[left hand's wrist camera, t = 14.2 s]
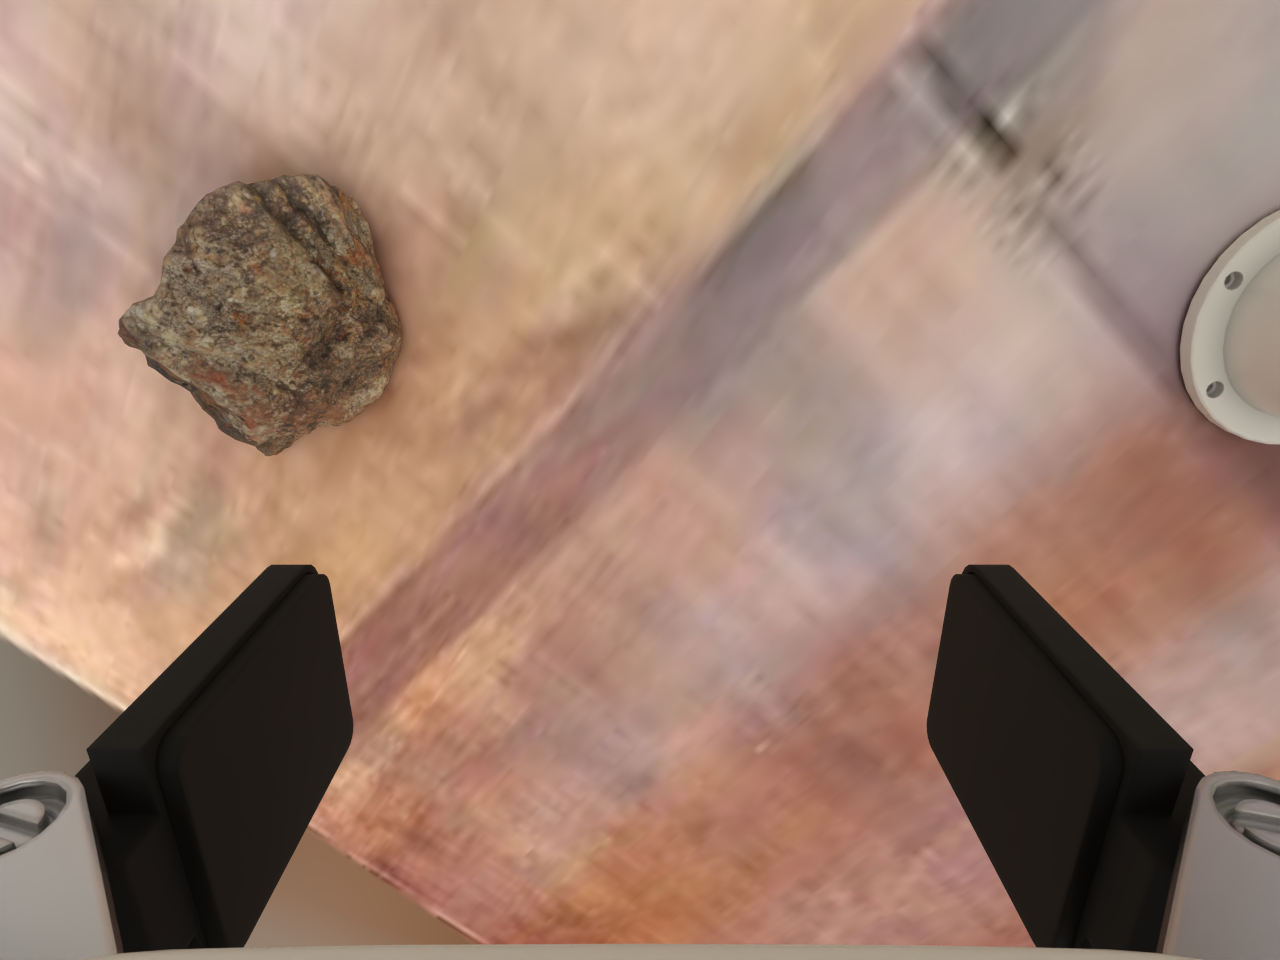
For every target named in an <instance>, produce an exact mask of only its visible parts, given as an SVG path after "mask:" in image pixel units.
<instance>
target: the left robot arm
mask: <svg viewBox="0 0 1280 960" xmlns="http://www.w3.org/2000/svg"><path fill="white" fill-rule="evenodd" d="M1180 363H1181V372H1182V376H1183V379H1184V383H1185V387H1186V390H1187V392H1188V394H1189V395H1190V397H1191V399H1192V401H1193V402H1194V404H1195V406H1196V407H1197V408H1198V409H1199V411H1200V412H1201V413H1202V414H1203V415H1204V416H1205V417H1206V418H1207V419H1208V420H1209V421H1210V422H1212V423H1214V424H1215V425H1217V426H1218V427H1220V428H1222V429H1223V430H1225V431H1227V432H1229V433H1232V434H1234V435H1237V436H1239V437H1242V438H1244V439H1247V440H1251V441H1255V442H1259V443H1264V444H1279V445H1280V210H1278V211H1276V212H1274V213H1273V214H1271V215H1269V216H1267V217H1265V218H1263V219H1262V220H1261V221H1259V222H1258V223H1257V224H1255V225H1254V226H1253V227H1251V228H1250V229H1249V230H1247V231H1246V232H1245V233H1243V234H1242V235H1241V236H1240V237H1239V238H1238V239H1237V240H1236V241H1235V242H1234V243H1233V244H1232V245H1231V246H1230V247H1229V248H1228V249H1227V250H1226V251H1225V252H1224V253H1223V254H1222V255H1221V256H1220V257H1219V258H1218V260H1217V261H1216V262H1215V264H1214V265H1213V266H1212V268H1211V269H1210V270H1209V272H1208V273H1207V274H1206V276H1205V277H1204V279H1203V280H1202V282H1201V284H1200V286H1199V288H1198V290H1197V292H1196V294H1195V295H1194V297H1193V299H1192V301H1191V304H1190V307H1189V310H1188V313H1187V316H1186V318H1185V321H1184V324H1183V330H1182V337H1181V343H1180ZM352 734H353V718H352V712H351V706H350V700H349V694H348V688H347V682H346V676H345V670H344V664H343V658H342V652H341V647H340V641H339V635H338V629H337V623H336V617H335V611H334V605H333V599H332V593H331V587H330V583H329V579H328V578H327V576H326V575H324V574H318V572H317V571H316V569H315V567H313V566H312V565H270V566H269V567H267V568H266V569H265V570H264V571H263V572H262V573H261V574H260V575H259V576H258V577H257V578H256V579H255V580H254V581H253V582H252V583H251V584H250V585H249V586H248V587H247V588H246V589H245V590H244V591H243V592H242V593H241V594H240V595H239V597H238V598H237V599H236V600H235V601H234V602H233V603H232V604H231V605H230V606H229V607H228V608H227V609H226V610H225V611H224V612H223V613H222V614H221V615H220V616H219V617H218V618H217V619H216V620H215V621H214V622H213V623H212V624H211V625H210V626H209V627H208V628H207V629H206V630H205V631H204V632H203V633H202V634H201V635H200V636H199V637H198V638H197V639H196V640H195V641H194V642H193V643H192V644H191V645H190V646H189V647H188V648H187V649H186V650H185V651H184V652H183V653H182V654H181V655H180V656H179V657H178V658H177V659H176V660H175V661H174V662H173V663H172V664H171V665H170V666H169V667H168V668H167V669H166V670H165V671H164V672H163V673H162V674H161V675H160V676H159V677H158V678H157V679H156V680H155V681H154V682H153V683H152V684H151V685H150V686H149V687H148V688H147V689H146V690H145V691H144V692H143V693H142V694H141V695H140V696H139V697H138V698H137V699H136V700H135V701H134V702H133V703H132V704H131V705H130V706H129V707H128V708H127V709H126V710H125V711H124V712H123V713H122V714H121V715H120V716H119V717H118V718H117V719H116V720H115V721H114V722H113V723H112V724H111V725H110V726H109V727H108V728H107V729H106V730H105V731H104V732H103V733H102V734H101V735H100V736H99V737H98V738H97V739H96V740H95V741H94V742H93V743H92V744H91V745H90V746H89V747H88V748H87V752H88V755H89V758H90V761H89V762H88V763H87V764H86V765H85V766H84V767H83V768H82V769H81V770H80V771H79V772H78V773H77V774H76V775H75V776H73V775H70V774H68V773H66V772H55V771H42V772H35V773H28V774H23V775H19V776H16V777H12V778H9V779H6V780H2V781H0V960H1280V781H1278V780H1274V779H1271V778H1268V777H1264V776H1261V775H1258V774H1252V773H1245V772H1238V771H1224V772H1214V773H1212V774H1210V775H1207V776H1205V775H1204V774H1203V773H1202V772H1201V771H1200V770H1199V769H1198V768H1197V767H1196V766H1195V765H1194V764H1193V763H1192V762H1191V761H1190V759H1191V755H1192V752H1193V748H1192V747H1191V746H1190V745H1189V744H1188V743H1187V742H1186V741H1185V740H1184V739H1183V738H1182V737H1181V736H1180V735H1179V734H1178V733H1177V732H1176V731H1175V730H1174V729H1173V728H1172V727H1171V726H1170V725H1169V724H1168V723H1167V722H1166V721H1165V720H1164V719H1163V718H1162V717H1161V716H1160V715H1159V714H1158V713H1157V712H1156V711H1155V710H1154V709H1153V708H1152V707H1151V706H1150V705H1149V704H1148V703H1147V702H1146V701H1145V700H1144V699H1143V698H1142V697H1141V696H1140V695H1139V694H1138V693H1137V692H1136V691H1135V690H1134V689H1133V688H1132V687H1131V686H1130V685H1129V684H1128V683H1127V682H1126V681H1125V680H1124V679H1123V678H1122V677H1121V676H1120V675H1119V674H1118V673H1117V672H1116V671H1115V670H1114V669H1113V668H1112V667H1111V666H1110V665H1109V664H1108V663H1107V662H1106V661H1105V660H1104V659H1103V658H1102V657H1101V656H1100V655H1099V654H1098V653H1097V652H1096V651H1095V650H1094V649H1093V648H1092V647H1091V646H1090V645H1089V644H1088V643H1087V642H1086V641H1085V640H1084V639H1083V638H1082V637H1081V636H1080V635H1079V634H1078V633H1077V632H1076V631H1075V630H1074V629H1073V628H1072V627H1071V626H1070V625H1069V624H1068V623H1067V622H1066V621H1065V620H1064V619H1063V618H1062V617H1061V616H1060V615H1059V614H1058V613H1057V612H1056V611H1055V610H1054V609H1053V608H1052V607H1051V606H1050V605H1049V604H1048V603H1047V602H1046V601H1045V600H1044V599H1043V598H1042V596H1041V595H1040V594H1039V593H1038V592H1037V591H1036V590H1035V589H1034V588H1033V587H1032V586H1031V585H1030V584H1029V583H1028V582H1027V581H1026V580H1025V579H1024V578H1023V577H1022V576H1021V575H1020V574H1019V573H1018V572H1017V571H1016V570H1015V569H1014V568H1013V567H1011V566H1010V565H968V566H967V567H965V569H964V571H963V572H962V574H956V575H954V576H953V578H952V579H951V583H950V587H949V593H948V599H947V605H946V611H945V617H944V623H943V629H942V635H941V641H940V647H939V652H938V658H937V664H936V670H935V676H934V682H933V688H932V694H931V700H930V706H929V712H928V718H927V734H928V739H929V743H930V746H931V748H932V750H933V752H934V754H935V756H936V758H937V759H938V761H939V763H940V765H941V767H942V769H943V771H944V773H945V775H946V777H947V779H948V780H949V782H950V784H951V786H952V788H953V790H954V792H955V794H956V796H957V798H958V799H959V801H960V803H961V805H962V807H963V809H964V811H965V813H966V815H967V817H968V819H969V820H970V822H971V824H972V826H973V828H974V830H975V832H976V834H977V836H978V838H979V840H980V841H981V843H982V845H983V847H984V849H985V851H986V853H987V855H988V857H989V859H990V860H991V862H992V864H993V866H994V868H995V870H996V872H997V874H998V876H999V878H1000V880H1001V881H1002V883H1003V885H1004V887H1005V889H1006V891H1007V893H1008V895H1009V897H1010V899H1011V900H1012V902H1013V904H1014V906H1015V908H1016V910H1017V912H1018V914H1019V916H1020V918H1021V920H1022V921H1023V923H1024V925H1025V927H1026V929H1027V931H1028V933H1029V935H1030V937H1031V939H1032V940H1033V942H1034V944H1035V945H1036V947H989V946H918V945H771V944H508V945H364V946H363V945H362V946H291V947H244V945H245V944H246V942H247V940H248V939H249V937H250V935H251V933H252V931H253V929H254V927H255V925H256V923H257V921H258V919H259V918H260V916H261V914H262V912H263V910H264V908H265V906H266V904H267V902H268V900H269V899H270V897H271V895H272V893H273V891H274V889H275V887H276V885H277V883H278V881H279V880H280V878H281V876H282V874H283V872H284V870H285V868H286V866H287V864H288V862H289V860H290V859H291V857H292V855H293V853H294V851H295V849H296V847H297V845H298V843H299V841H300V840H301V838H302V836H303V834H304V832H305V830H306V828H307V826H308V824H309V822H310V820H311V819H312V817H313V815H314V813H315V811H316V809H317V807H318V805H319V803H320V801H321V799H322V798H323V796H324V794H325V792H326V790H327V788H328V786H329V784H330V782H331V780H332V779H333V777H334V775H335V773H336V771H337V769H338V767H339V765H340V763H341V761H342V759H343V758H344V756H345V754H346V752H347V750H348V748H349V746H350V743H351V739H352Z"/></svg>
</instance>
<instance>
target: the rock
mask: <svg viewBox="0 0 1280 960" xmlns="http://www.w3.org/2000/svg"><path fill="white" fill-rule="evenodd" d="M119 328H120V329H119V331H118V335H119V336H120V337H121V338H122V339H123V341H124V343H125V344H127V345H128V346H130V347H133V348H137V349H139V350H141V351H142V352H143V353H144V354H145V356H146V359H147V364H148V366H150V367H151V368H153V369H155V370H156V371H158V372H159V373H160V374H162V375H163V376H164V377H165V378H167V379H168V380H170V381H171V382H174V383H176V384H179V385H181V386H182V387H184V388H185V389H187V390H189V391H190V392H191V394H192V395H193V397H194V398H195V400H196V401H197V402H198V403H199V405H200V406H201V408H202V409H203V410H204V411H205V412H207V413H208V414H209V415H210V416H211V417H212V418H213V419H214V420H215V421H216V424H217V426H218V428H219V429H220V430H221V431H222V432H224V433H226V434H227V435H229V436H231V437H232V438H234V439H236V440H238V441H241V442H244V443H247V444H250V445H253V446H255V447H256V448H257V449H258V450H260V451H261V452H262V453H263V454H264V455H265V456H271V455H277V454H279V453H280V452H282V451H283V449H285V448H288V447H290V446H291V445H292V444H293V442H294V441H296V440H297V439H299V438H300V437H301V436H302V435H303V434H309V433H310V432H311V431H312V430H313V429H316V428H317V427H319V426H321V427H327V426H329V425H333V426H340V425H341V424H342V423H345V422H349V421H351V420H353V419H354V418H355V417H356V416H357V415H359V414H360V413H362V412H363V411H364V409H365V408H366V407H367V406H368V405H370V404H371V403H373V402H374V401H376V400H377V399H378V398H379V397H380V395H381V394H383V393H384V388H385V386H386V385H387V384H388V383H389V379H390V375H391V372H392V370H393V366H392V365H393V364H394V362H395V360H396V359H397V358H398V356H399V353H400V345H401V344H402V338H401V323H400V322H399V320H398V315H397V311H396V309H395V307H394V305H393V304H392V302H391V300H389V298H388V296H387V293H386V291H385V288H384V280H383V277H382V275H381V270H380V267H379V265H378V262H377V260H376V257H375V254H374V248H373V240H372V237H371V232H370V227H369V225H368V223H367V221H366V220H365V219H364V217H363V216H362V213H361V211H360V209H359V206H358V204H357V203H356V202H355V201H354V199H352V198H350V197H348V196H347V195H346V194H345V193H344V192H343V191H341V190H340V189H339V188H337V187H336V186H330V185H329V184H328V182H327V181H325V180H324V179H323V178H321V177H320V176H319V175H307V174H302V175H298V176H295V177H294V176H287V175H282V176H280V177H278V178H276V179H274V180H268V181H261V182H257V183H252V184H247V185H246V184H244V183H241V182H239V181H238V182H235V183H232V184H229V185H226V186H223V187H220V188H218V189H216V190H215V191H213V192H212V193H209V194H207V195H206V196H205V197H204V198H203V199H202V200H201V201H200V202H199V203H198V204H197V205H196V207H195V208H194V209H193V210H192V212H191V213H190V215H189V216H188V218H187V220H186V221H185V223H184V224H183V225H182V226H181V227H180V228H178V229H177V237H176V243H175V244H174V246H173V247H172V248H171V250H170V251H169V252H168V253H167V255H166V256H165V257H164V260H163V268H162V276H161V284H160V286H159V287H158V289H157V291H156V293H155V295H154V296H152V297H150V298H147V299H145V300H143V301H140V302H137V303H133V305H132V306H131V307H130V308H129V309H128V310H127V311H126V313H125V314H124V315H123V316H122V317H121V318H120V319H119Z"/></svg>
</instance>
